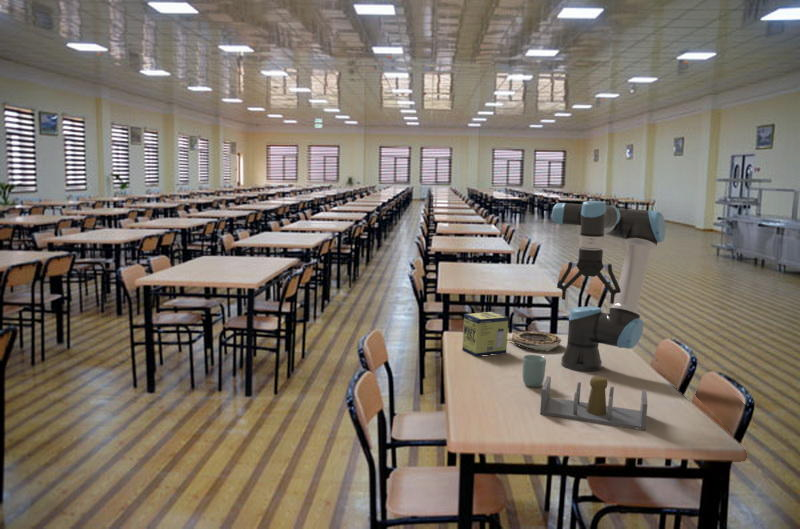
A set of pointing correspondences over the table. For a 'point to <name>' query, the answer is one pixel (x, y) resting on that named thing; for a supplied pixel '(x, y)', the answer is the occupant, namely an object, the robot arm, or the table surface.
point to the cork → (597, 396)
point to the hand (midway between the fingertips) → (586, 311)
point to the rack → (579, 412)
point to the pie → (535, 340)
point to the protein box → (485, 333)
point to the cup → (533, 370)
